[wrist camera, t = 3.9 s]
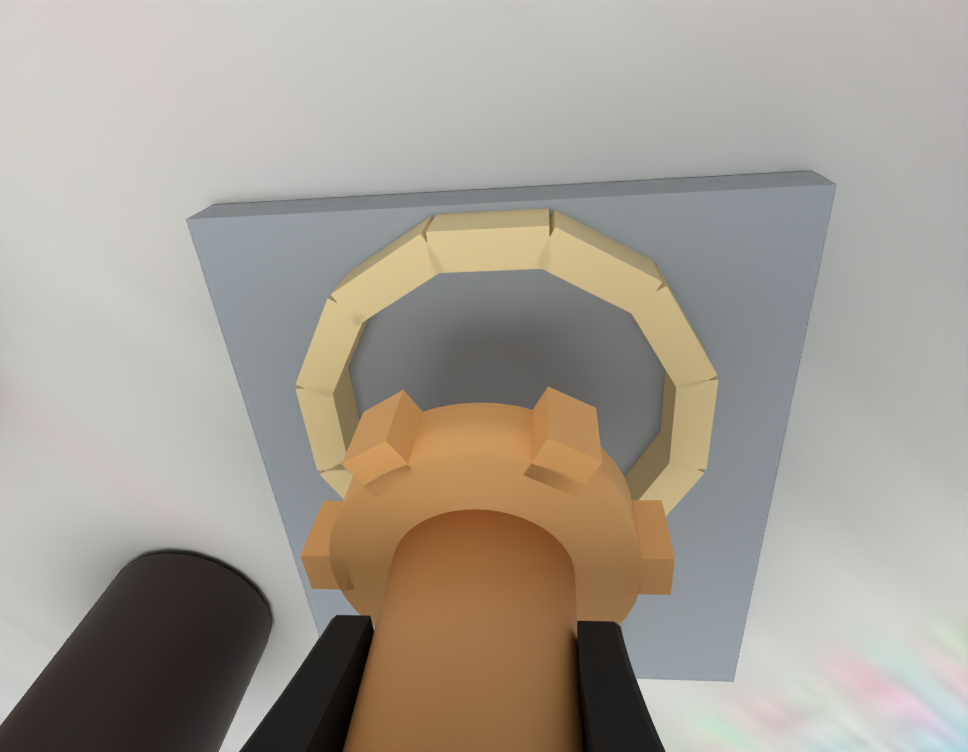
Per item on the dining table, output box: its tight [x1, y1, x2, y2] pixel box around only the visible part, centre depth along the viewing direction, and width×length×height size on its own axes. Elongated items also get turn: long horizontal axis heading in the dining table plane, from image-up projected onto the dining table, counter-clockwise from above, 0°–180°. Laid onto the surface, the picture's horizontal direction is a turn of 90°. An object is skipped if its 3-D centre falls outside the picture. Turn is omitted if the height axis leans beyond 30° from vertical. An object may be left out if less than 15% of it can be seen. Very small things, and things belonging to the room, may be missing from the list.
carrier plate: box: [186, 171, 836, 682], centre depth 19 cm, size 16×19×4 cm
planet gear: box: [300, 387, 675, 752], centre depth 10 cm, size 7×7×6 cm
